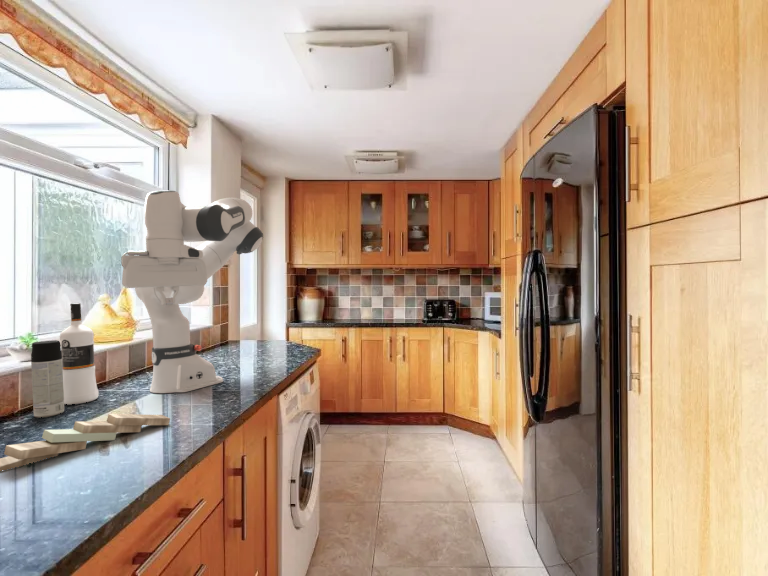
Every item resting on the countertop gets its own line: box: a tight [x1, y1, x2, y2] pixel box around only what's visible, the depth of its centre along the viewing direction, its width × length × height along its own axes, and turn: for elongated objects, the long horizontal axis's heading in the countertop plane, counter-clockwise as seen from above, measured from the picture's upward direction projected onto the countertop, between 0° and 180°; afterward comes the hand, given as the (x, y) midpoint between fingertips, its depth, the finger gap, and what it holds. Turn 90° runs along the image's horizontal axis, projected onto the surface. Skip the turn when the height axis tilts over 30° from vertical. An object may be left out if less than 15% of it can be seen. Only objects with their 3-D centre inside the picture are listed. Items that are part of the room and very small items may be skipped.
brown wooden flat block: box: [3, 439, 88, 460], centre depth 85 cm, size 2×5×12 cm
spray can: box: [30, 339, 65, 418], centre depth 115 cm, size 7×7×20 cm
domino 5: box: [106, 413, 171, 426], centre depth 100 cm, size 2×5×12 cm
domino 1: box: [0, 453, 59, 472], centre depth 83 cm, size 2×5×12 cm
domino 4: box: [72, 421, 143, 434], centre depth 95 cm, size 2×5×12 cm
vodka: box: [59, 302, 100, 406], centre depth 128 cm, size 9×9×30 cm
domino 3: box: [41, 428, 117, 443], centre depth 90 cm, size 2×5×12 cm
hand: (168, 304), depth 111 cm, fingers closed
